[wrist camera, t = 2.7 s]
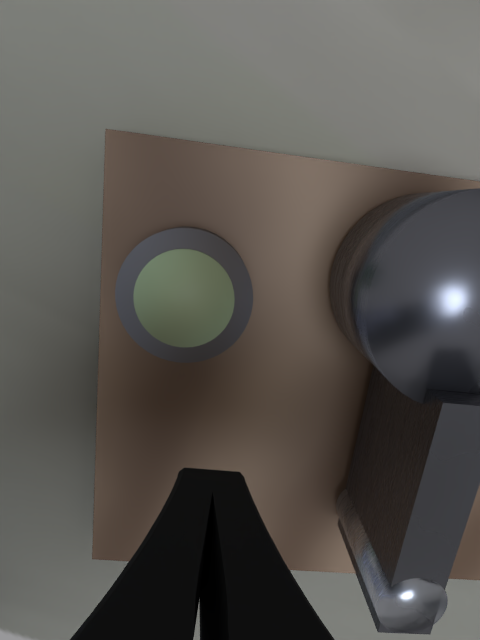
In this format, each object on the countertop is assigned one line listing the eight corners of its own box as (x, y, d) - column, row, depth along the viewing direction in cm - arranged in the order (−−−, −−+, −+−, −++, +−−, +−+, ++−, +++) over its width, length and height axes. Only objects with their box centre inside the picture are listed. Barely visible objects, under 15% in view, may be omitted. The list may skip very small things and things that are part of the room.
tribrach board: (100, 536, 15) (79, 595, 13) (115, 135, 11) (88, 117, 9) (498, 560, 16) (543, 616, 14) (628, 207, 13) (718, 206, 10)
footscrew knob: (347, 181, 11) (411, 167, 7) (520, 205, 11) (663, 202, 7) (285, 518, 14) (308, 628, 10) (424, 527, 14) (495, 637, 10)
